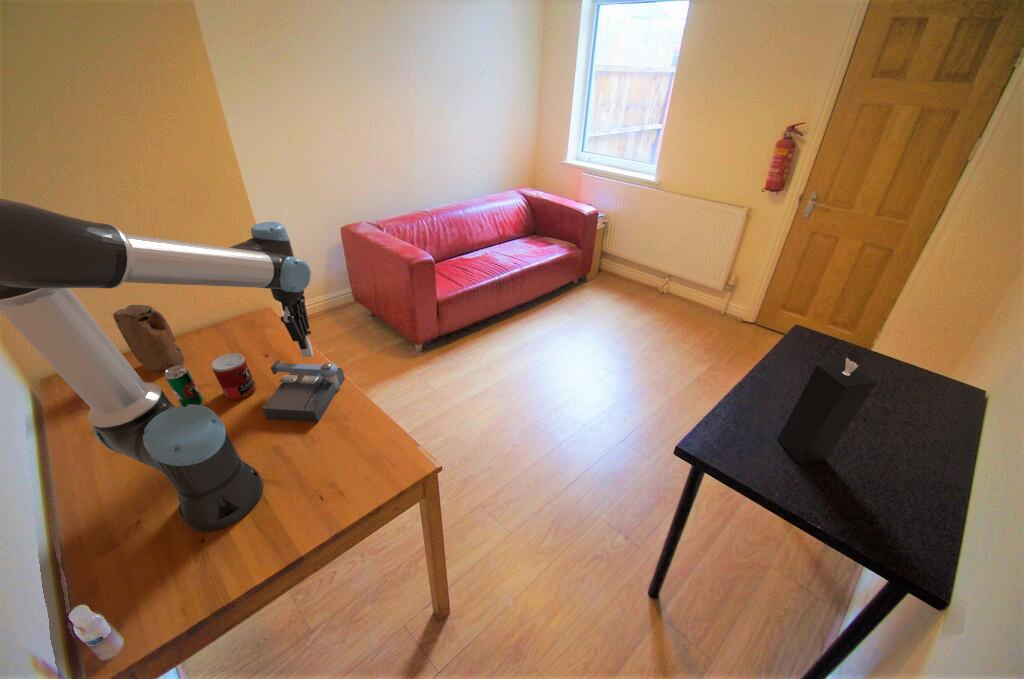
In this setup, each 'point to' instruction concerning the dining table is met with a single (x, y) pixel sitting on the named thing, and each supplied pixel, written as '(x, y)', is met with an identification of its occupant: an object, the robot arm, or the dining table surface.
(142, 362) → the brown rough lump
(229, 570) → the dining table surface
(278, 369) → the swing bar
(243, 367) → the canned food
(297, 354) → the dining table surface
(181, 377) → the soda can
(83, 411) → the dining table surface
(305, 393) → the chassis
